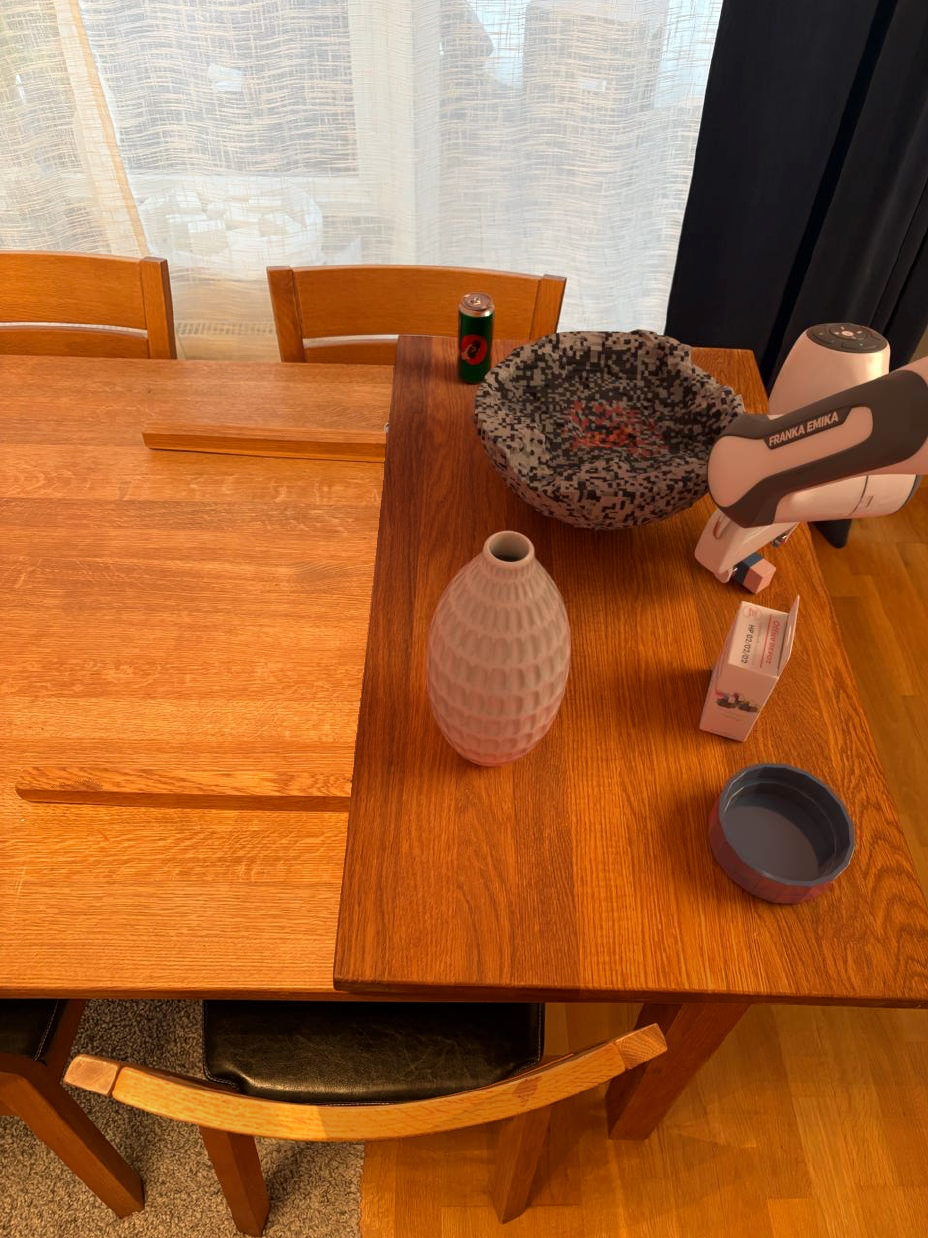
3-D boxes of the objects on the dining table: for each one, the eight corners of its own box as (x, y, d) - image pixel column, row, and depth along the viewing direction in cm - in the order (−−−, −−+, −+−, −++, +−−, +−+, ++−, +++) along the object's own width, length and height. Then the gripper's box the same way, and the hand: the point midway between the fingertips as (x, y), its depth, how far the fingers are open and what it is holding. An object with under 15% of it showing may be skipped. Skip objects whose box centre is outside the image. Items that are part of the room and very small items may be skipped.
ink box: (710, 667, 93) (749, 577, 82) (756, 681, 92) (802, 591, 81) (696, 729, 88) (736, 642, 77) (745, 745, 87) (792, 659, 76)
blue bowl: (852, 824, 82) (871, 803, 78) (813, 932, 75) (831, 913, 72) (733, 764, 86) (746, 741, 82) (686, 861, 79) (698, 840, 76)
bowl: (695, 421, 120) (724, 326, 109) (733, 588, 101) (772, 493, 89) (473, 412, 120) (478, 315, 109) (467, 577, 100) (471, 480, 89)
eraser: (769, 585, 101) (777, 567, 99) (754, 595, 100) (762, 577, 98) (736, 560, 104) (743, 542, 101) (722, 569, 103) (729, 551, 100)
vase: (536, 812, 82) (575, 629, 60) (409, 777, 84) (402, 588, 62) (563, 705, 90) (606, 509, 68) (447, 676, 91) (452, 476, 70)
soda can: (497, 379, 125) (502, 304, 116) (467, 389, 124) (470, 314, 114) (479, 361, 128) (483, 287, 119) (450, 371, 126) (451, 295, 117)
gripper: (747, 527, 83) (710, 617, 94) (872, 447, 91) (825, 538, 102) (699, 491, 86) (668, 582, 97) (824, 417, 94) (783, 508, 105)
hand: (749, 559), depth 100 cm, fingers open, 8 cm apart
